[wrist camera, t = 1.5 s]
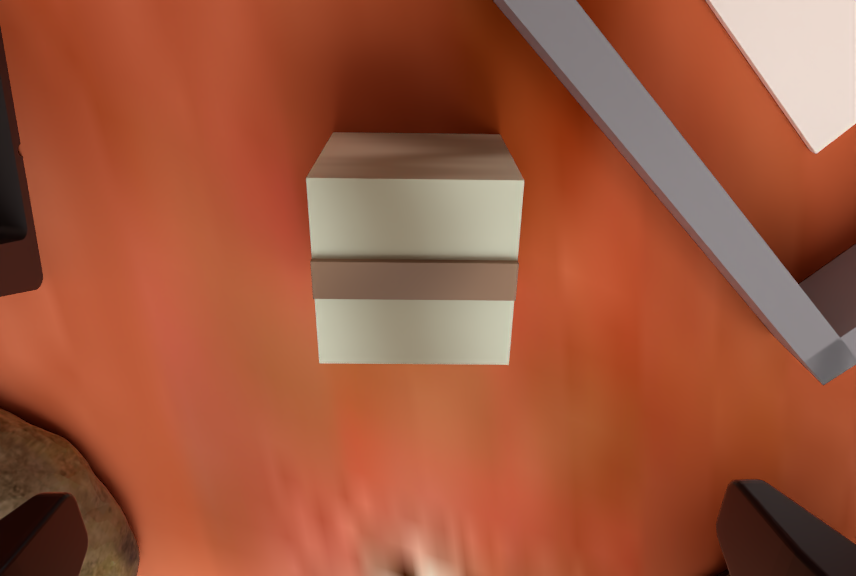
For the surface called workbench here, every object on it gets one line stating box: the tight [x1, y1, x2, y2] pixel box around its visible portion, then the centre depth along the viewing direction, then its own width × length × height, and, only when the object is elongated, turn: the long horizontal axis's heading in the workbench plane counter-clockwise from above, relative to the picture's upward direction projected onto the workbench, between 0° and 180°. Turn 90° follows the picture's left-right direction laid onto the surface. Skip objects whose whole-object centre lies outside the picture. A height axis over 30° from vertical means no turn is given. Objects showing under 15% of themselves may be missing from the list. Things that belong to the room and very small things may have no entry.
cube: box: [306, 132, 524, 365], centre depth 18 cm, size 5×5×5 cm
